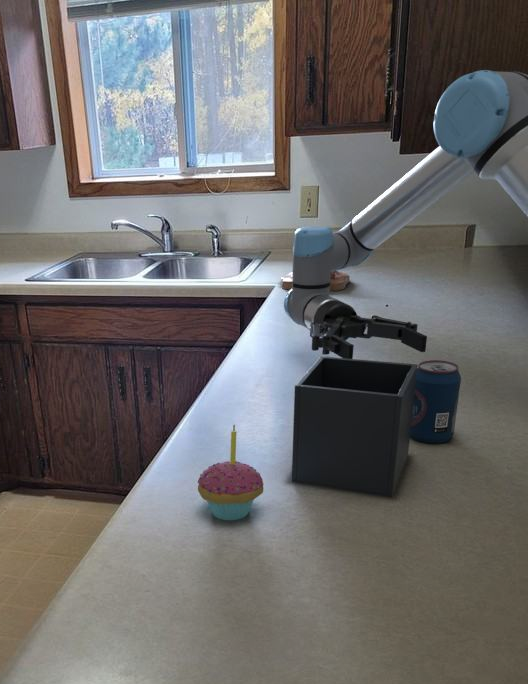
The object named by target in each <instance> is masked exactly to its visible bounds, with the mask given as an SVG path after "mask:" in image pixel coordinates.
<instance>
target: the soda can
mask: <svg viewBox="0 0 528 684" xmlns="http://www.w3.org/2000/svg"><path fill="white" fill-rule="evenodd" d="M461 383H462V377H461V374H460V371H459V365H457V363H455V362H451V361H448V360H439V359H433V360H432V359H431V360H424V361H421V362H419V363H418V367H417V377H416V386H415V395H414V404H413V413H412V422H411V431H410V439H412V440H414V441H416V442H419V443H423V444H431V445H433V444H434V445H437V444H444V443H446V442H448V441H450V439H451V438H452V437H453V436H454V433H455V426H456V421H457V411H458V405H459V397H460V390H461Z"/></svg>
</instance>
